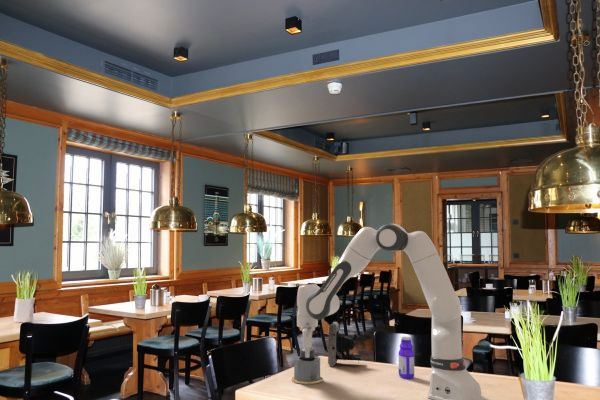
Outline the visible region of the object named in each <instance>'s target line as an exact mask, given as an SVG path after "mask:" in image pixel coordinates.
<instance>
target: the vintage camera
mask: <svg viewBox="0 0 600 400" xmlns="http://www.w3.org/2000/svg"><path fill="white" fill-rule="evenodd" d="M358 337H359V336H358V334H357V333H354V334H353V336H352V337H351V336H349V335H346V334H344V333H343V334H342V333H340V323H339V322H338V321H336V320H334V321H333V322H331V324H330V325H329V327H328V344H327V345H328V347H327V348H328V351H327V354H328V355H327V363H328V365H329V367H334V366H336V363H337V362H338V360H339V361H357V362H358V363H360V361H362V359H363V356H362V354H354V353H353V352H352V353H350V350H351V351H352V350H353V349H354V348H355V345H356V342H357V341H356V340H357V339H358Z"/></svg>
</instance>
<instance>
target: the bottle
mask: <svg viewBox="0 0 600 400" xmlns="http://www.w3.org/2000/svg"><path fill="white" fill-rule="evenodd" d="M400 337H401V339H400V344H399V351H398V376H399V377H400V378H402V379H405V380H411V379H414V378H415V353H414V350H413V348H414V347H413V344H412V336H410V335H401V336H400Z"/></svg>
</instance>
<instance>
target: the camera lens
mask: <svg viewBox="0 0 600 400" xmlns="http://www.w3.org/2000/svg"><path fill="white" fill-rule="evenodd" d="M299 356H300V359H301V360H314V356H315V349H313V348H311V349H310V357H309V358H306V357H305V349H304V348H301V349H300V350H299Z"/></svg>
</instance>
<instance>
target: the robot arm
mask: <svg viewBox="0 0 600 400" xmlns="http://www.w3.org/2000/svg"><path fill="white" fill-rule="evenodd" d="M380 249H382V250H383V251H386V252H391V253H392V252H399V251H400V252H401V251H403V252H404V253H406V255H407V257H408V259H409V261H410V263H411V266H412V268H413V270H414V272H415V275H416V277H417V279H418V282H419V285H420V288H421V291H422V293H423V295H424V298H425V300H426V302H427V305H428V308H429V310H430V313H431V339H430V340H431V355H430V366H431V371H430V377H429V387H428V392H427V398H428V399H430V400H489V399H488V398H486V397H485V396H482V388H481V385H480V383H479V382H478V381H477V380H476V379H475V377H473V376H472V374H471V373H470V372H469V371H468V370H467V365H469V364H468V361H464V357H463V352H462V349H463V348H462V345H463V344H462V312H461V311H462V304H461V299H460V297H459V296H458V294H457V293H456V291H455V289H454V286H453V284H452V282H451V279H450V277H449V275H448V272H447V270H446V267H445V266H444V264H443V261H442V259H441V257H440V254H439V253H438V252H439V251H438V250H437V247H436V246H435V244H434V243H433V241H432V240H431V238H430V237H429V235H428V234H427V233H426V232H425V231H422V230H417V231H412V232H408V230H407V229H406V228H405V227H404V226H402V225H399V224H398V223H386V224H384V225H381V226H380V227H379V228H378V230H377V229H375V228H373V227H370V226H363V227H362V228H360V229H359V231H358V232H356V234H355V235H354V236H353V238H352V239H351V240H350V242H349V243H348V244H347V246H346V248H345V250H344V251H343V252H342V254H341V256H340V258H339V260H338V261H337V263H336V265H335V266H334V268H333V270H331V272H330V274H328V277H327V278H326V280H325V281H324V282H323V284H322V285H321V286H318V284H316V283H314V282H311V283H305V284H301V285H300V286H299V287H298V289H297V295H296V306H297V313H296V327H298V328H299V331H301V332H302V349H305V357H306V358H309V357H310V349H313V348H312V346H313V340H312V339H313V332H315V331H316V328H317V327H318V326H319V324H318V323H319V320H323V319H325V318H326V317H328V316H331V315H334V314H335V313H337V312H338V310H339V309H340V307H341V301H340V298H339V296H338V295H337V293H338V292H339V290H340V289H341V287H342V286H343V284H344V283H346V281H348V280H349V279H350V278H352V277H353V276H355V275H358V274H360V273H361V272H362V271H363V270H364V269H366V267H367V266H368V265H369V263H370V262H371V260H372V258H374V256H375V254H376V253H377V252H378V251H379V250H380Z"/></svg>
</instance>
